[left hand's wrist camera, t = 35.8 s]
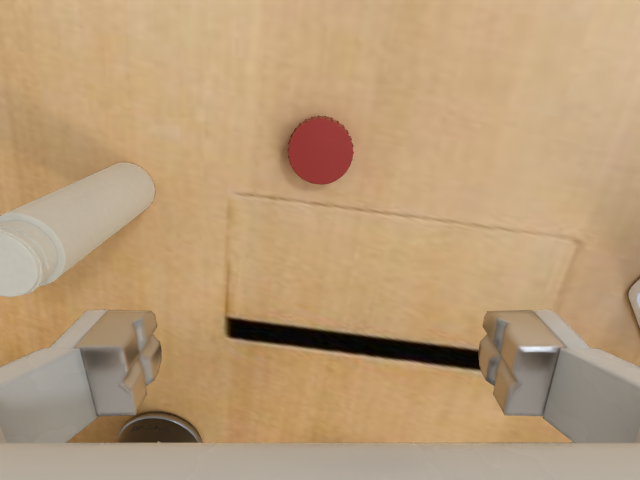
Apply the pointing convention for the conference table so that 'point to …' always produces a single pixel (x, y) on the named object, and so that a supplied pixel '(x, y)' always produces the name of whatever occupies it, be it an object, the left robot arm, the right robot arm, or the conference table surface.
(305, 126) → the lid
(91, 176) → the white bottle
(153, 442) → the right robot arm
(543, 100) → the conference table surface
